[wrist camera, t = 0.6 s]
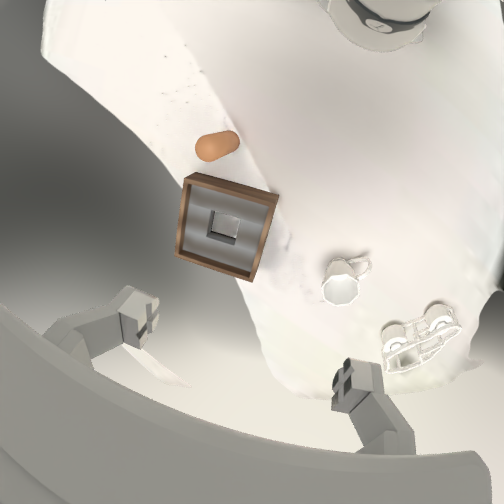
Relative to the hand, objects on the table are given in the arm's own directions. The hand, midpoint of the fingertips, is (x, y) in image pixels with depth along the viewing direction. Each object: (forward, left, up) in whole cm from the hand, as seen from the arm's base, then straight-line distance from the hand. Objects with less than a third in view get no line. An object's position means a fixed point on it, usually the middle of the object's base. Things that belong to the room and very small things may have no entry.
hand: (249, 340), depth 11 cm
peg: (-1, -13, -40) cm, 42 cm away
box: (+14, -10, -40) cm, 44 cm away
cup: (+15, +14, -40) cm, 45 cm away
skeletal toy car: (+25, +37, -40) cm, 60 cm away
